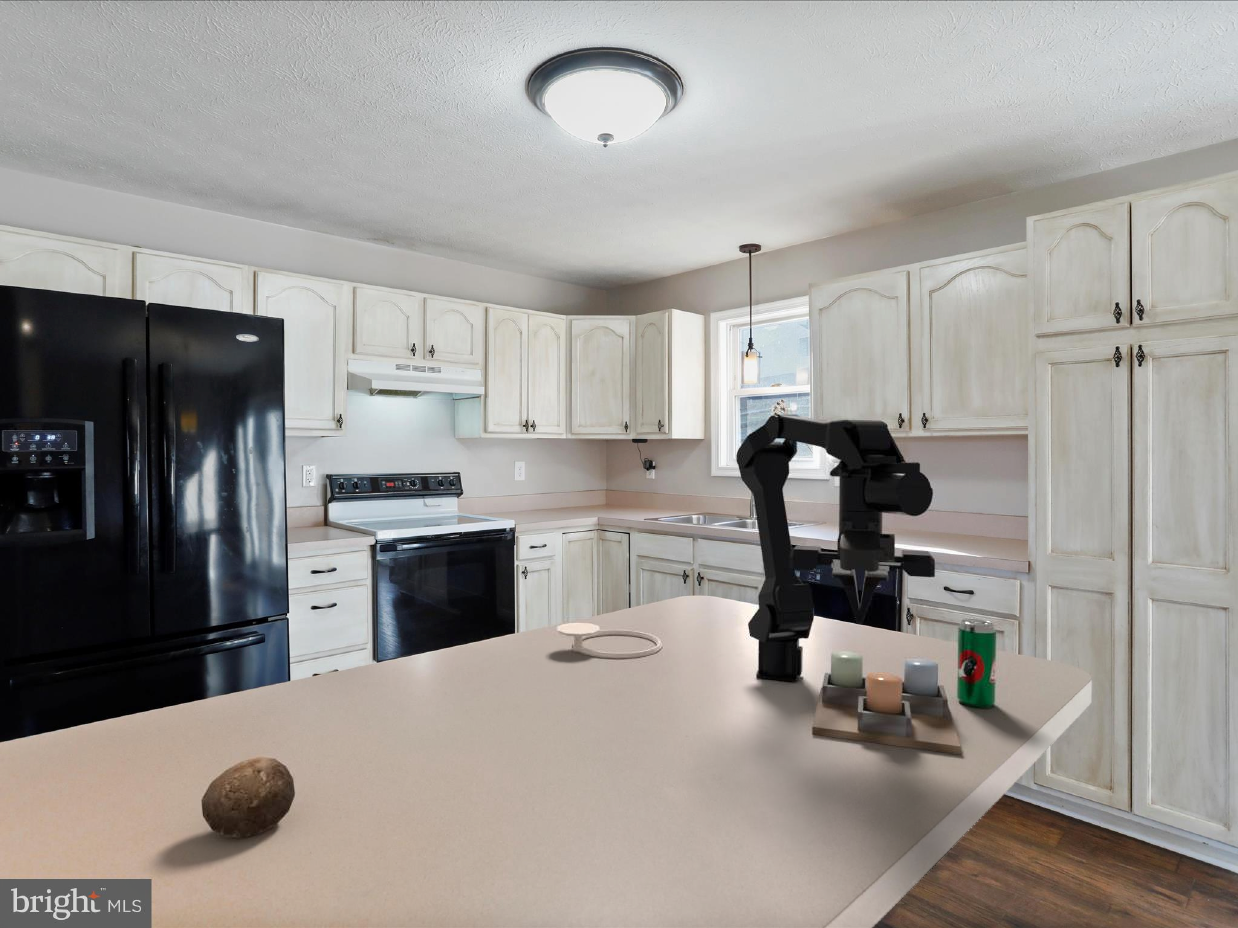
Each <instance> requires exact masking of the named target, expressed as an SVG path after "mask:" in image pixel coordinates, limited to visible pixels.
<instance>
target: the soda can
mask: <svg viewBox="0 0 1238 928" xmlns="http://www.w3.org/2000/svg"><path fill="white" fill-rule="evenodd" d="M994 626H995V624H994V623H993V622H991V621H988V620H983V619H977V618H976V619H975V618H964V619H961V621H960V624H959V626H958V627H957V667H956V669H957V671H956V675H957V676H956V698H957V699H958V700H959V702H960V703H961V704H963V705H965V706H968V707H970V708H971V707H972V708H978V709H988V708H991V707H992V706H994V705H995V704H996V681H997V680H996V679H997V677H996V674H997V630H996V629H995V627H994Z"/></svg>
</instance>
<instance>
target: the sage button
mask: <svg viewBox="0 0 1238 928" xmlns="http://www.w3.org/2000/svg"><path fill="white" fill-rule="evenodd" d="M863 660H864V658H863V655H861V654H859V653H856V652H851V651H843V650H842V651H841V650H840V651H834V652H833V651H832V653H831V654H830V673H831V683H832V684H834V685H836V686H841V687H850V688H857V687H861V686H862V677H864V676H863V672H864V671H863V670H864V669H863V667H864V666H863V664H864V663H863Z"/></svg>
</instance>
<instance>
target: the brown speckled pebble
mask: <svg viewBox="0 0 1238 928" xmlns="http://www.w3.org/2000/svg"><path fill="white" fill-rule="evenodd" d="M294 783H295V781H294V777H293V776H292V774H291V772H290V771H289V769H288V767H287V766H286V765H284V764H283V763H282V762H280V761H279V760H277V759H276V758H274V757H273V758H272V757H265V756H264V757H262V756H258V757H254V758H250V759H246V760H242V761H240V762H238V763H236V764H235V765H233V766H231V767H229V768H228V769H226V770H225V771H223V772H222V773H221V774H220V775H219V776H217V777H216V778H215V779H213V780H212V781H211V782H210V784H209V785H208V787H207V789H206V791H205V792H204V795H203V796H202V799H201V810H202V811H201V812H202V817H203V818H204V820H205V822H206V823H207V824H208V826H209V828H210V829H211V830H212V831H214V832H216V833H217V834H220V835H221V836H224V837H227V838H242V839H243V838H247V837H250V836H255V835H258V834H261V833H264V832H265V831H267V830H269V829H272V828H273V827H275V826H276V825H278V824H279V823H280V821H282V819H283V818H284V817H285V816H286V815H287V814H288V813H289V811H290V809H291V807H292V805H293V801H294V799H295V797H296V795H295V794H296V791H295V790H296V789H295V784H294Z"/></svg>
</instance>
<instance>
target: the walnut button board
mask: <svg viewBox="0 0 1238 928" xmlns="http://www.w3.org/2000/svg"><path fill="white" fill-rule="evenodd" d="M866 691H867V676H862V686H861V687H857V688H850V687H841V686H836V685H834V684H832V683H831V672H825V673H824V676H823V681H822V687H820V690H819V695H818V698H817V703H816V708H815V713H814V716H813V717H814V718H813V723H812V725H811V726H812V727H811V730H812V731H811V735H814V736H815V735H816V736H824V737H830V738H831V737H832V738H837V739H838V738H839V739H844V740H845V739H846V740H852V741H860V742H868V743H874V744H880V745H881V744H882V745H889V746H895V747H896V746H897V747H904V748H912V749H918V750H924V751H925V750H926V751H934V752H939V753H940V752H941V753H946V754H947V753H948V754H955V755H961V752H962V750H961V747H962V746H961V743H960V740H959V736H958V732H957V729H956V726H955V722H954V719H953V716H952V712H951V709H950V706H949V703H948V701H949V699H948V696H947V693H946V689H945V686H944V685H942V684H938V694H937V695H935V696H920V695H913V694H910V693H907V692H906V691H905V690H904V680H902V712H901V713H898V714H884V713H877V712H873V711H871V710H869V709H868V708H867V707H866Z"/></svg>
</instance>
